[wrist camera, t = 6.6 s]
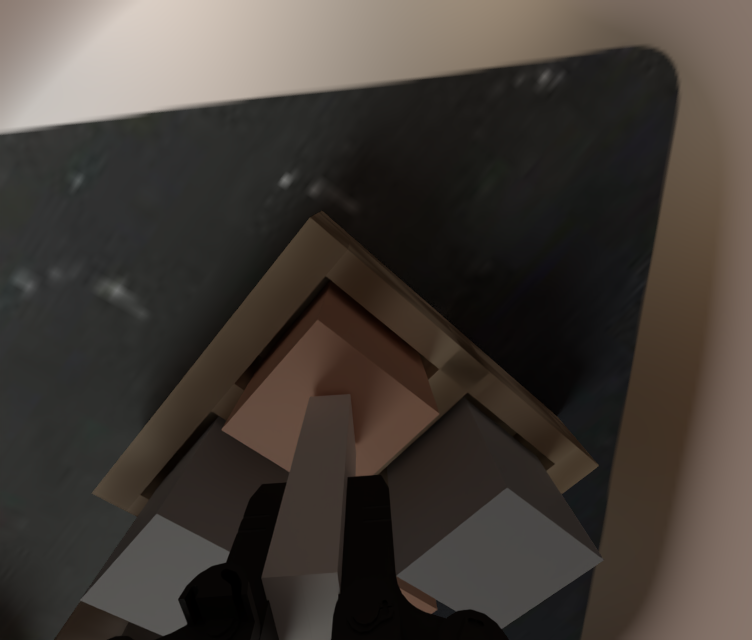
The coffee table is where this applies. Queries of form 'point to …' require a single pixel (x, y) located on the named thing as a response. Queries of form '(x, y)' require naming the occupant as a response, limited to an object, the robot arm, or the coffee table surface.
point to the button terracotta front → (336, 384)
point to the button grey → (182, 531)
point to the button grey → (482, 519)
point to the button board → (260, 334)
